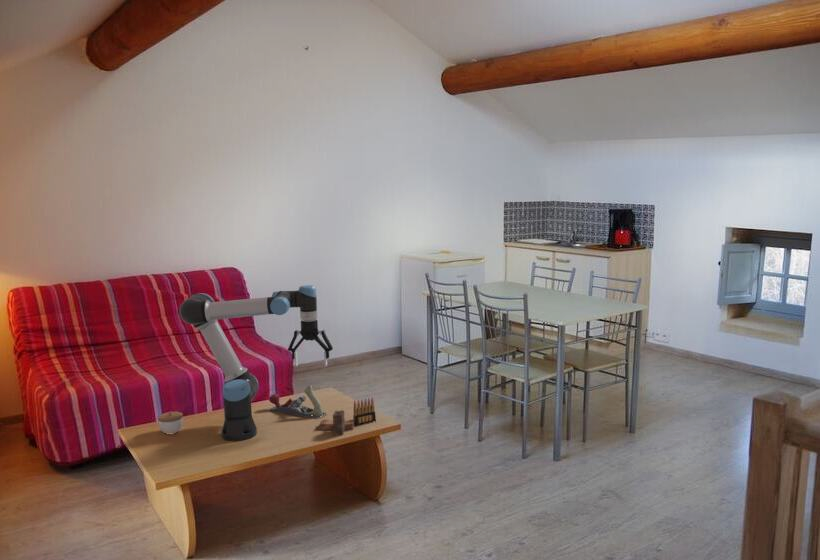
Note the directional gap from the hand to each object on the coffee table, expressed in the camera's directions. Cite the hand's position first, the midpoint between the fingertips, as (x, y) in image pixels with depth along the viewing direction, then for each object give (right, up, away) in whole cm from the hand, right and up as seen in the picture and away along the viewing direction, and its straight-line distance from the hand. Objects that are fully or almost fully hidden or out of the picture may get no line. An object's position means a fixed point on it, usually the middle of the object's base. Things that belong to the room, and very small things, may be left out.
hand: (311, 365), depth 324 cm
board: (+12, -27, -3) cm, 30 cm away
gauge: (+14, -28, -8) cm, 32 cm away
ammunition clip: (+24, -27, +1) cm, 36 cm away
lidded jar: (-62, -30, -4) cm, 69 cm away
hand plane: (-9, -25, +18) cm, 32 cm away
